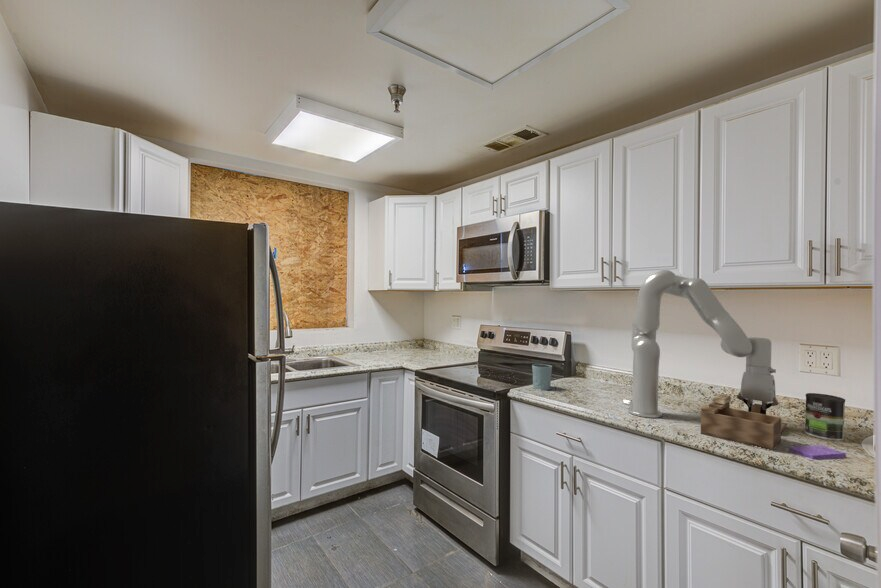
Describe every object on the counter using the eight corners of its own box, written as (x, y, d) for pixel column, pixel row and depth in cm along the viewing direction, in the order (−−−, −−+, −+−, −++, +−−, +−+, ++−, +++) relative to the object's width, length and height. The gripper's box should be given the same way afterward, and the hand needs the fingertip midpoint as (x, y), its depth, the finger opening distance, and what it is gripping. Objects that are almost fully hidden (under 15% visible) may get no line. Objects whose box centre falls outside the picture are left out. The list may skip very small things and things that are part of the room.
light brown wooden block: (713, 402, 151) (713, 397, 151) (719, 399, 156) (719, 394, 156) (724, 404, 148) (724, 399, 148) (730, 401, 153) (730, 395, 153)
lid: (717, 419, 157) (717, 401, 157) (727, 413, 166) (727, 396, 167) (780, 432, 143) (780, 412, 143) (787, 425, 152) (787, 407, 152)
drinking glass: (530, 389, 206) (531, 366, 206) (532, 385, 216) (532, 363, 216) (551, 391, 203) (552, 367, 203) (552, 387, 213) (552, 364, 213)
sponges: (846, 459, 124) (846, 453, 124) (811, 461, 122) (812, 454, 122) (821, 450, 131) (821, 444, 131) (788, 451, 129) (788, 446, 129)
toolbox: (700, 433, 143) (701, 408, 143) (716, 423, 156) (717, 399, 156) (772, 450, 128) (773, 422, 128) (783, 437, 141) (784, 411, 141)
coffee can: (835, 442, 137) (836, 401, 137) (798, 433, 146) (799, 394, 147) (850, 439, 141) (851, 398, 141) (813, 429, 151) (814, 392, 151)
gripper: (787, 372, 150) (786, 422, 150) (735, 366, 162) (733, 411, 162) (783, 374, 145) (782, 426, 145) (730, 367, 157) (728, 415, 157)
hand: (756, 418), depth 153 cm, fingers closed on lid, 2 cm apart
